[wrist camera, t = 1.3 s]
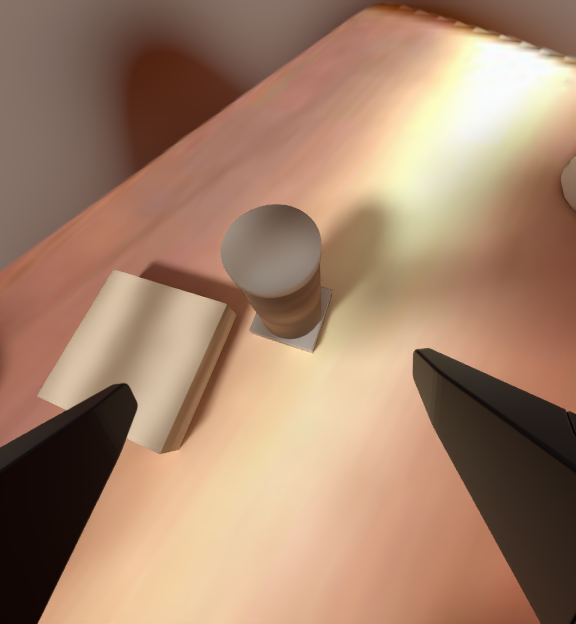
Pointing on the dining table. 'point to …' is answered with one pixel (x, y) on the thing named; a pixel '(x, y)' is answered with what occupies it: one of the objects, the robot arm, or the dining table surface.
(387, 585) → the dining table surface
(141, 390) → the birch block
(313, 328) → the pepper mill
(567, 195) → the supplement can
